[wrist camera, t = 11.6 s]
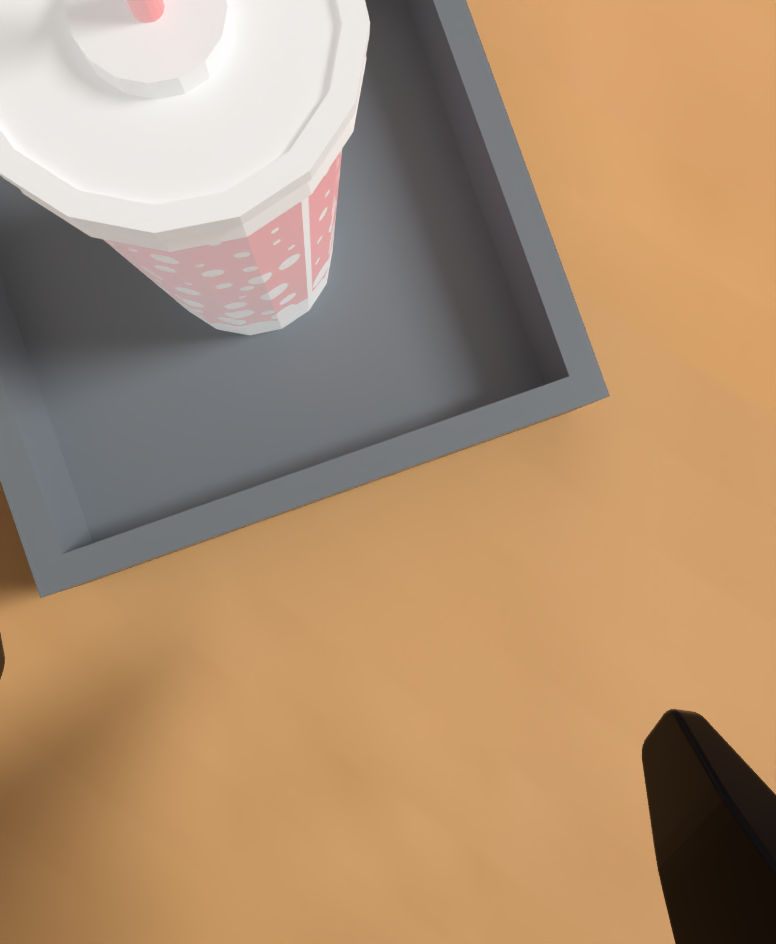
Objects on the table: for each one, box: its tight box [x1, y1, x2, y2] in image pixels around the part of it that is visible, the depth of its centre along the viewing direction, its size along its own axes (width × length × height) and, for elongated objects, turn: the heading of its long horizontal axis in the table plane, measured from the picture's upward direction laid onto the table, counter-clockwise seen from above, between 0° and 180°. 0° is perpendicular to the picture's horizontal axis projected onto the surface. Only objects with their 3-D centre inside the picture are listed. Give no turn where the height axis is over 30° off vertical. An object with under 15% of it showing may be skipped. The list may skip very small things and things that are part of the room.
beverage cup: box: [0, 0, 370, 335], centre depth 11 cm, size 6×6×14 cm
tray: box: [0, 0, 610, 598], centre depth 18 cm, size 15×15×3 cm
